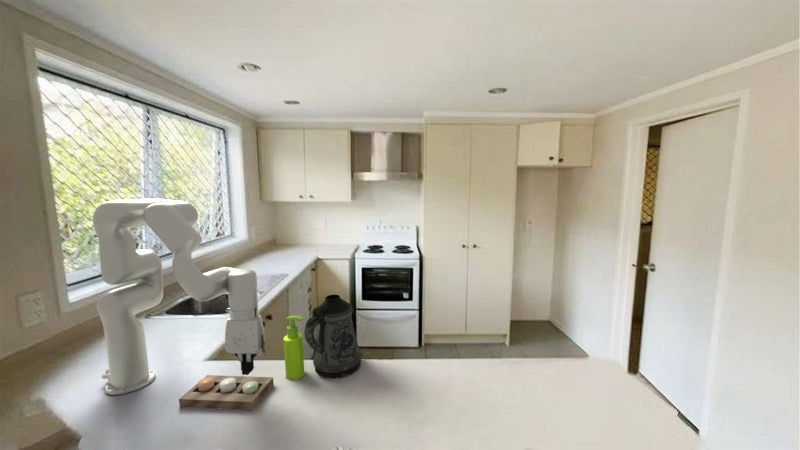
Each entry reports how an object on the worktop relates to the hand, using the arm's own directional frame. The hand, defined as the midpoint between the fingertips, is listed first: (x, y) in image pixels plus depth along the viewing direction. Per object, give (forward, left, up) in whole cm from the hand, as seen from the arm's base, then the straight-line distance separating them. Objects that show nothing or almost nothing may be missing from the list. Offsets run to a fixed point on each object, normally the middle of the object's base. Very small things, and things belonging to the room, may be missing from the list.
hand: (247, 372), depth 96 cm
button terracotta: (-14, 0, -6) cm, 15 cm away
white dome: (-7, 0, -6) cm, 9 cm away
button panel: (-7, 0, -8) cm, 10 cm away
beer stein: (+22, +17, -8) cm, 28 cm away
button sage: (0, 0, -7) cm, 7 cm away
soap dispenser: (+9, +12, -8) cm, 17 cm away
